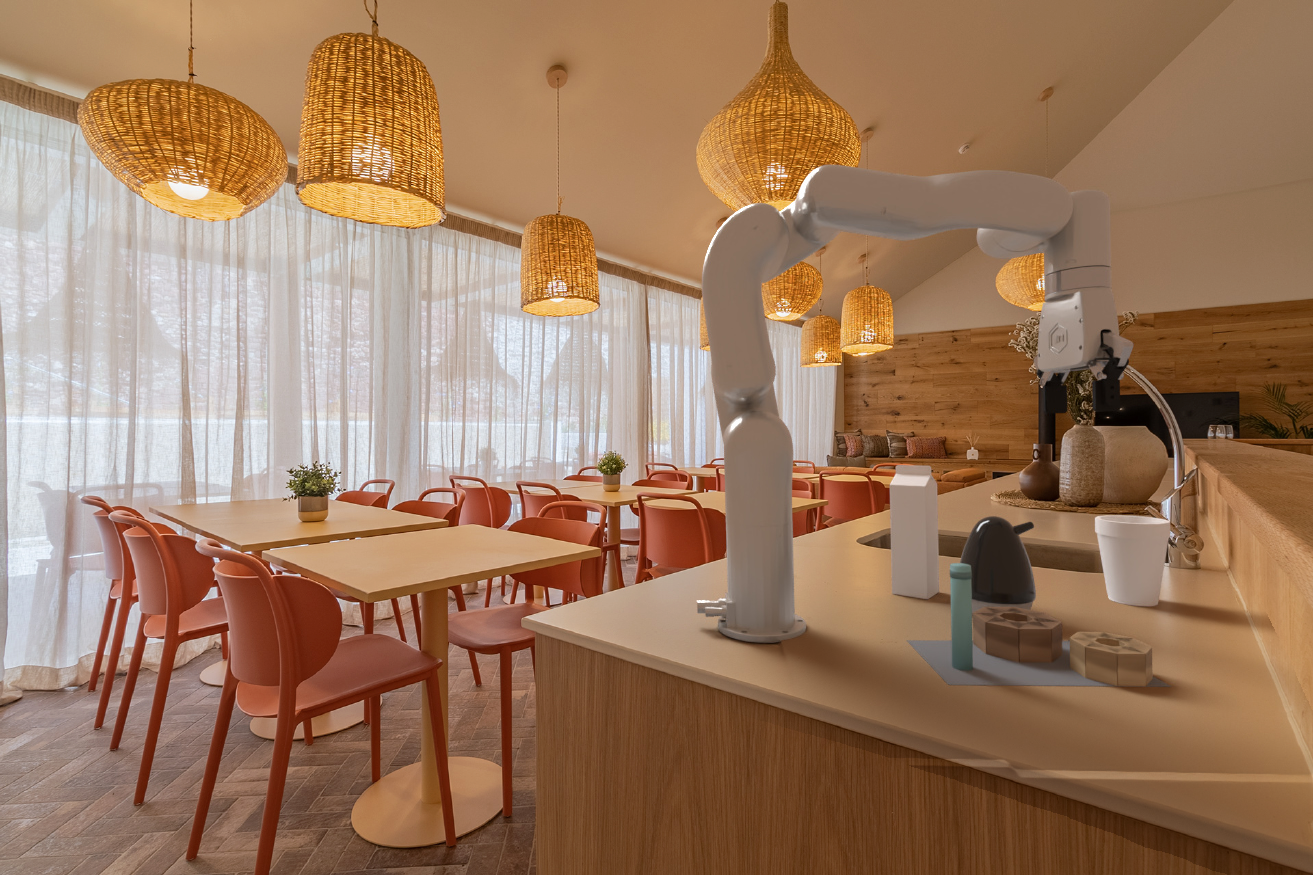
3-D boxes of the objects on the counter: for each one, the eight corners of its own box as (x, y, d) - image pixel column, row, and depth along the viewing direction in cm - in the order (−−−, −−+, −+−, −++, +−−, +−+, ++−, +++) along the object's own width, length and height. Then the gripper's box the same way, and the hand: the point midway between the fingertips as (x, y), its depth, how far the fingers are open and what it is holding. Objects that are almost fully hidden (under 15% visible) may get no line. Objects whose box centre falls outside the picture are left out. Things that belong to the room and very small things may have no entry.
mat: (948, 689, 67) (948, 684, 67) (906, 644, 81) (906, 640, 81) (1171, 690, 65) (1171, 686, 65) (1089, 644, 79) (1089, 640, 79)
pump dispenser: (1050, 630, 84) (1048, 521, 84) (969, 627, 86) (967, 521, 86) (1021, 609, 94) (1020, 511, 94) (949, 607, 96) (947, 511, 96)
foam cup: (1166, 597, 99) (1165, 517, 99) (1176, 612, 91) (1175, 525, 91) (1094, 590, 104) (1092, 514, 104) (1098, 603, 96) (1097, 521, 96)
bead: (996, 662, 73) (995, 628, 73) (964, 636, 82) (963, 606, 82) (1075, 662, 72) (1075, 628, 72) (1034, 636, 81) (1034, 606, 81)
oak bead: (1097, 685, 66) (1096, 653, 66) (1059, 660, 73) (1059, 631, 72) (1166, 686, 65) (1166, 653, 65) (1122, 661, 72) (1121, 631, 72)
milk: (927, 600, 101) (925, 467, 100) (891, 594, 105) (888, 466, 104) (939, 591, 105) (937, 464, 105) (904, 586, 109) (901, 463, 109)
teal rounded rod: (956, 670, 70) (954, 567, 70) (948, 663, 73) (946, 563, 73) (976, 670, 70) (974, 567, 70) (968, 663, 73) (966, 562, 72)
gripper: (1011, 300, 92) (1013, 414, 92) (1097, 271, 74) (1099, 411, 75) (1060, 299, 92) (1062, 413, 92) (1157, 269, 75) (1159, 409, 75)
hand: (1079, 412), depth 83 cm, fingers open, 9 cm apart
